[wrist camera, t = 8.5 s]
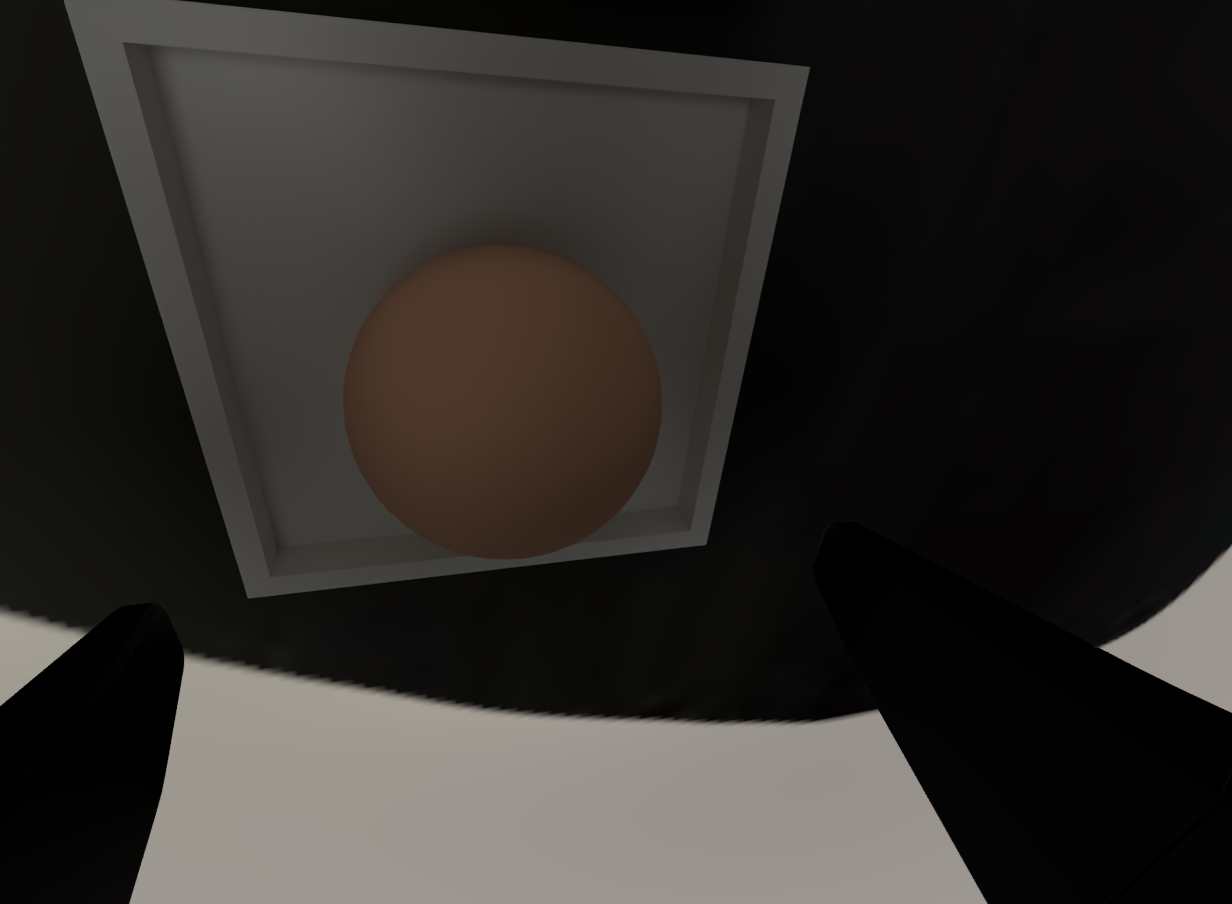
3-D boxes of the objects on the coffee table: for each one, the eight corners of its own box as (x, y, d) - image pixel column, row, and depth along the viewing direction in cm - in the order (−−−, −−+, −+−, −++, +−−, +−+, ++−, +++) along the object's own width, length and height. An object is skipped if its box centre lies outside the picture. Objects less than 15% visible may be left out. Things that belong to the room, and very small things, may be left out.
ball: (625, 213, 14) (743, 312, 9) (603, 442, 17) (683, 602, 13) (332, 204, 12) (293, 320, 8) (369, 460, 16) (358, 653, 11)
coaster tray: (774, 63, 14) (809, 67, 12) (688, 513, 20) (705, 544, 19) (100, -9, 10) (59, -12, 9) (259, 557, 17) (248, 598, 16)
